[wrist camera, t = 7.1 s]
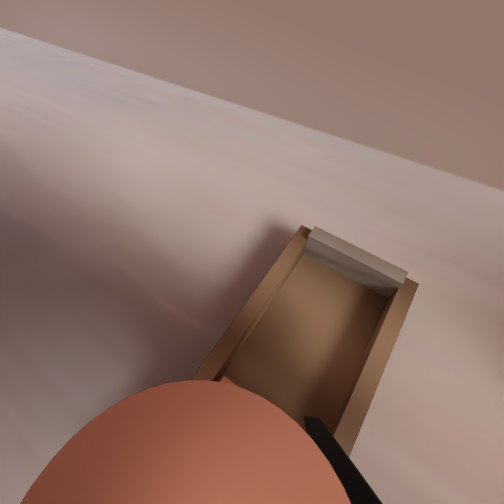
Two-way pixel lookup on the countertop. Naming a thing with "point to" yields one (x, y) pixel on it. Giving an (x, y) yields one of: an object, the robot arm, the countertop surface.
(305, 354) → the track
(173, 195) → the countertop surface
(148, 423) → the slider knob
